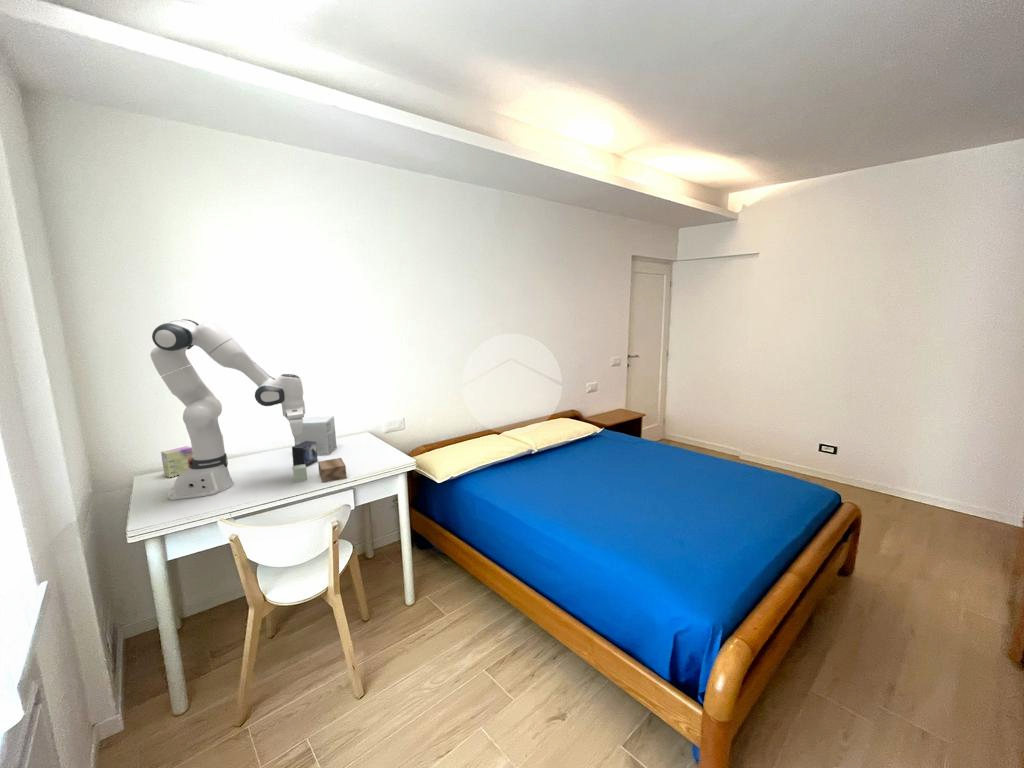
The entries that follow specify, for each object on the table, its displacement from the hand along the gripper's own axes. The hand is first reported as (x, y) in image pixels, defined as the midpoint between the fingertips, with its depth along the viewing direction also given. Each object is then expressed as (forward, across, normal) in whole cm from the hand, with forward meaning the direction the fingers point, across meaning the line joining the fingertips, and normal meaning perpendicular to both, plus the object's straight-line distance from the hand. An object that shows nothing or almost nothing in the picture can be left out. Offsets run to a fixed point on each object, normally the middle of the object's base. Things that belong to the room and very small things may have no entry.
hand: (297, 441), depth 188 cm
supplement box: (+18, -38, +11) cm, 44 cm away
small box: (+18, -20, +4) cm, 27 cm away
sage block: (+18, 0, 0) cm, 18 cm away
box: (+18, -38, -48) cm, 64 cm away
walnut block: (+18, +3, +13) cm, 22 cm away
